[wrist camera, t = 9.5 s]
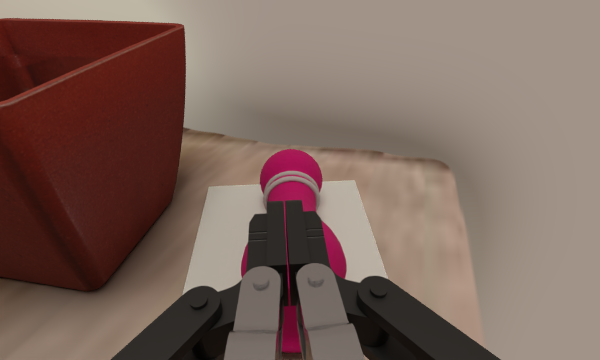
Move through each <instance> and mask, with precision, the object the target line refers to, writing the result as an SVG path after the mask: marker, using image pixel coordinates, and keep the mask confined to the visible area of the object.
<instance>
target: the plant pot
mask: <svg viewBox="0 0 600 360" xmlns="http://www.w3.org/2000/svg"><path fill="white" fill-rule="evenodd" d="M185 57H186V56H185V33H184V25H182V24H175V23H154V22H130V21H102V20H61V19H20V18H5V19H0V277H6V278H12V279H18V280H24V281H30V282H36V283H42V284H47V285H53V286H59V287H65V288H71V289H77V290H83V291H91V290H94V289H97V288H99V287H100V286H102V285H103V284H104V283H105V282H106V281H107V280H108V279H109V278H110V276H111V275H112V274H113V273H114V271H115V270H116V269H117V268H118V266H119V265H120V264H121V263H122V262H123V260H124V259H125V258H126V257H127V255H128V254H129V253H130V252H131V250H132V249H133V248H134V247H135V245H136V244H137V243H138V242H139V240H140V239H141V238H142V237H143V236H144V234H145V233H146V232H147V230H148V229H149V228H150V227H151V226H152V224H153V223H154V222H155V220H156V219H157V218H158V217H159V216H160V214H161V213H162V212H163V210H164V209H165V208H166V207H167V206H168V205H169V203H170V202H171V200H172V197H173V193H174V188H175V184H176V179H177V172H178V166H179V159H180V152H181V143H182V133H183V122H184V108H185V80H186V79H185V77H186V75H185V74H186V58H185Z"/></svg>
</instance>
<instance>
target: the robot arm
mask: <svg viewBox="0 0 600 360" xmlns="http://www.w3.org/2000/svg"><path fill="white" fill-rule="evenodd" d="M285 217H286V233H285ZM286 241H287V249H286ZM287 257H288V266H287ZM288 273H289V289H290V304H291V306H296V312H297V329H298V335H299V341H300V347H301V354H302V360H365V359H364V356H363V354H364V355H365V356H366V357H367V358H368V359H369V360H500V359H499V358H498V357H496V356H495V355H493V354H492V353H491V352H489V351H488V350H486V349H485V348H484V347H482V346H481V345H479V344H478V343H477V342H475V341H474V340H472V339H471V338H470V337H468V336H467V335H465V334H464V333H463V332H461V331H460V330H458V329H457V328H456V327H454V326H453V325H451V324H450V323H449V322H447V321H446V320H444V319H443V318H442V317H440V316H439V315H437V314H436V313H435V312H433V311H432V310H431V309H429V308H428V307H426V306H425V305H424V304H422V303H421V302H419V301H418V300H417V299H415V298H414V297H412V296H411V295H410V294H408V293H407V292H405V291H404V290H403V289H401V288H400V287H398V286H397V285H396V284H394V283H393V282H391V281H390V280H388V279H387V278H384V277H381V276H369V277H366V278H364V279H363V280H362V281H361V282H360V283H359V282H354V281H350V280H346V279H343V278H341V277H340V276H338V275H337V274H336V273H335V272H334V271H333V270H332V268H331V266H330V263H329V258H328V252H327V247H326V242H325V237H324V231H323V226H322V221H321V218H320V217H319V216H318V214H317V213H316V212H315V211H303V204H302V200H285V216H284V201H267V213H265V214H254V216H253V217H252V219H251V221H250V222H249V234H248V250H247V265H246V273H245V275H244V276H243V278H242V280H241V281H240V282H239V283H237V284H236V285H234V286H232V287H230V288H228V289H225V290H222V291H219V292H217V290H215V289H214V288H212V287H209V286H198V287H194V288H192V289H190V290H188V291H187V292H186V293H185V294H183V295H182V296H181V297H180V298H179V299H178V300H177V301H176V302H174V303H173V304H172V305H171V306H170V307H169V308H168V309H167V310H166V311H164V312H163V313H162V314H161V315H160V316H159V317H158V318H157V319H155V320H154V321H153V322H152V323H151V324H150V325H149V326H148V327H147V328H145V329H144V330H143V331H142V332H141V333H140V334H139V335H138V336H136V337H135V338H134V339H133V340H132V341H131V342H130V343H129V344H128V345H126V346H125V347H124V348H123V349H122V350H121V351H120V352H119V353H117V354H116V355H115V356H114V357H113V358H112V359H111V360H282V339H283V323H284V307H285V306H289V296H288Z"/></svg>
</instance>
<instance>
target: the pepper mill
mask: <svg viewBox="0 0 600 360" xmlns="http://www.w3.org/2000/svg"><path fill="white" fill-rule="evenodd" d="M260 185H261V190H262V192H263V194H264V198H263V202H264V207H265V209H266V211H267V201H284V216H285V200H302V204H303V211H315V212H316V211H317V210H318V208H319V205H320V195H319V193H320V191H321V188H322V174H321V170H320V168H319V166H318V164H317V162H316V161H315V160H314V159H313V158H312V157H311V156H310V155H308V154H307V153H305V152H303V151H300V150H295V149H287V150H283V151H280V152H277V153H276V154H274V155H273V156H271V157H270V158H269V159H268V160H267V161H266V163H265V164H264V166H263V169H262V171H261V175H260ZM316 213H317V212H316ZM321 221H322V220H321ZM322 226H323V231H324V237H325V242H326V247H327V252H328V258H329V263H330V266H331V268H332V270H333V271H334V272H335V273H336V274H337V275H338V276H340V277H341V278H343V279H345V276H346V272H347V265H346V258H345V255H344V252H343V249H342V246H341V244H340V242H339V240H338V239H337V237H336V236H335V234H334V233H333V231H332V230H331V229H330V227H329V226H327V225H326V224H325V223H324V222H323V221H322ZM285 233H286V217H285ZM286 249H287V241H286ZM247 250H248V243H247V245H246V247H245V250H244V254H243V258H242V262H241V276H242V278H243V276H244V275H245V273H246V265H247ZM287 266H288V257H287ZM288 296H289V306H285V307H284V323H283V339H282V352H288V353H298V352H301V347H300V341H299V335H298V329H297V312H296V306H291V304H290V289H289V273H288Z"/></svg>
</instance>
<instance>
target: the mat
mask: <svg viewBox="0 0 600 360" xmlns="http://www.w3.org/2000/svg"><path fill="white" fill-rule="evenodd" d="M319 195H320V205H319V208H318V210H317V211H316V212H317V214H318V216H319V217H320V218H321V220H322V221H323V222H324V223H325V224H326V225H327V226H329V227H330V229H331V230H332V231H333V233H334V234H335V236H336V237H337V239H338V240H339V242H340V244H341V246H342V249H343V252H344V255H345V258H346V265H347V272H346V276H345V279H346V280H350V281H354V282H359V283H360V282H361V281H362V280H363V279H364V278H366V277H369V276H381V277H384V278H387V279H388V277H387V274H386V271H385V268H384V265H383V262H382V259H381V257H380V254H379V251H378V248H377V245H376V242H375V239H374V236H373V233H372V230H371V227H370V224H369V221H368V218H367V215H366V212H365V210H364V207H363V204H362V201H361V198H360V195H359V192H358V189H357V186H356V183H355V180H350V181H327V182H322V188H321V191H320V193H319ZM263 198H264V194H263V192H262V190H261V185H260V184H255V185H231V186H209V189H208V193H207V197H206V201H205V205H204V209H203V213H202V217H201V221H200V225H199V229H198V233H197V237H196V241H195V245H194V250H193V254H192V258H191V262H190V266H189V270H188V274H187V278H186V282H185V286H184V290H183V294H185V293H186V292H187V291H188V290H190V289H192V288H194V287H198V286H209V287H212V288H214V289H215V290H217V292H219V291H222V290H225V289H228V288H230V287H232V286H234V285H236V284H237V283H239V282H240V281H241V280H242V276H241V262H242V258H243V254H244V250H245V247H246V245H247V243H248V234H249V222H250V221H251V219H252V217H253V216H254V214H265V213H267V211H266V209H265V207H264V202H263ZM183 294H182V295H183Z"/></svg>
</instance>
